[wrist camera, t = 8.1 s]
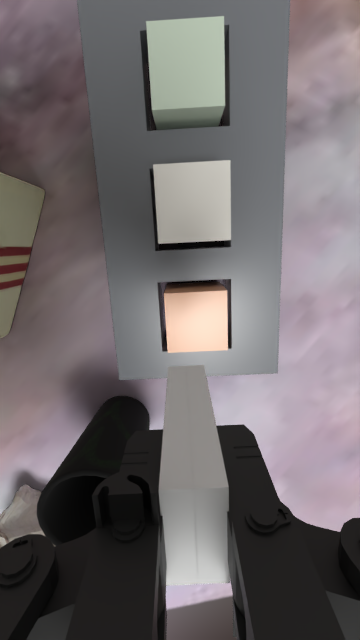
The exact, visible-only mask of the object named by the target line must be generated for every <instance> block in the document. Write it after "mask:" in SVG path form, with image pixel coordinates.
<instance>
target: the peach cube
mask: <svg viewBox="0 0 360 640" xmlns="http://www.w3.org/2000/svg"><path fill="white" fill-rule="evenodd" d="M164 304H165V319H166V334H167V350H168V353H177V352H199V351H221V350H228V314H227V290H226V288H225V287H224V286H223V285H222V284H221V283H220V281H219V282H199V283H179V284H167V286H166V289H165V292H164Z"/></svg>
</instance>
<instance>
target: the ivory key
mask: <svg viewBox="0 0 360 640" xmlns="http://www.w3.org/2000/svg"><path fill="white" fill-rule="evenodd" d="M153 171H154V185H155V200H156V215H157V230H158V244H165V243H184V242H204V241H223V240H231V171H230V160H222V161H205V162H187V163H170V164H153Z"/></svg>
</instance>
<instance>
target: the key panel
mask: <svg viewBox="0 0 360 640" xmlns="http://www.w3.org/2000/svg"><path fill="white" fill-rule="evenodd" d="M77 5H78V14H79V23H80V32H81V41H82V50H83V59H84V68H85V77H86V86H87V95H88V104H89V113H90V122H91V131H92V140H93V149H94V158H95V167H96V176H97V185H98V194H99V203H100V212H101V221H102V230H103V239H104V248H105V257H106V266H107V275H108V284H109V293H110V302H111V311H112V320H113V329H114V338H115V347H116V356H117V365H118V374H119V380H134V379H157V378H167V376H168V367H172V366H192V365H204V368H205V373H206V376H227V375H250V374H273V373H278V346H279V316H280V287H281V257H282V227H283V197H284V167H285V137H286V107H287V77H288V47H289V17H290V0H77ZM217 16H224V51H225V108H224V111H223V126H220V127H203V128H186V129H170V130H153V131H151V123H150V108H149V93H148V78H147V63H149V58H148V43H147V27H146V21H157V20H172V19H187V18H202V17H217ZM222 160H230V171H231V240H224V246H215V247H196V248H177V249H159V244H158V230H157V215H156V200H155V185H154V171H153V164H170V163H187V162H205V161H222ZM219 279H225V288H226V290H227V314H228V350H221V351H199V352H177V353H168V350H167V337H165V332H164V318H163V303H162V288H161V282H179V281H199V280H219Z"/></svg>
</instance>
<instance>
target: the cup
mask: <svg viewBox="0 0 360 640" xmlns="http://www.w3.org/2000/svg"><path fill="white" fill-rule="evenodd" d="M143 430H149V414H148V412H147V409H146V408H145V407H144V405H143V404H142V403H140V402H139V401H138V400H136V399H134V398H131V397H127V396H117V397H113V398H111V399H109V400H107V401H106V402H105V403H103V405H102V406H101V407H100V409H99V410H98V412H97V413H96V415H95V416H94V417H93V419H92V420H91V422H90V423H89V425H88V426H87V428H86V429H85V431H84V432H83V433H82V435H81V436H80V438H79V439H78V441H77V442H76V444H75V445H74V446H73V448H72V449H71V451H70V452H69V454H68V455H67V457H66V458H65V459H64V461H63V462H62V464H61V465H60V467H59V468H58V470H57V471H56V472H55V474H54V475H53V477H52V478H51V480H50V481H49V483H48V484H47V486H46V487H45V488H44V490H43V491H42V493H41V494H40V497H39V500H38V503H37V518H38V522H39V526H40V528H41V529H42V531H43V533H44V534H45V536H46V537H48V538H50V540H51V542H52V543H53V545H55V546H57V545H60V544H63V543H66V542H69V541H72V540H75V539H77V538H80V537H82V536H84V535H86V534H88V533H89V532H91V531H92V530H94V529H95V528H96V521H95V514H94V507H93V501H92V494H93V493H94V491H95V489H96V487H97V486H98V485H99V484H100V483H101V482H102V481H103V480H105V479H106V478H107V477H109V476H112V475H114V474H116V473H118V472H119V471H120V467H121V463H122V459H123V456H124V451H125V447H126V443H127V441H128V439H129V438H130V437H131V436H132V435H133V434H134V432H135V431H143Z"/></svg>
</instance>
